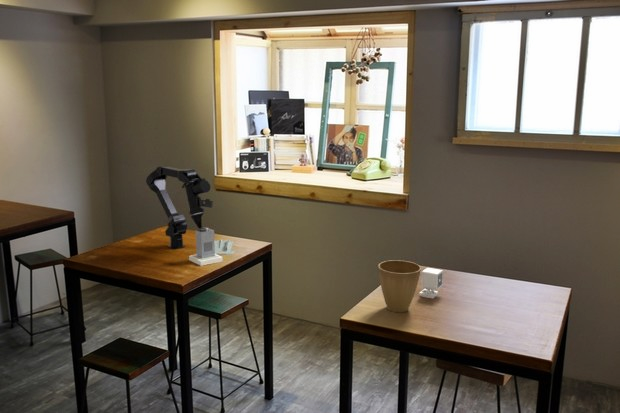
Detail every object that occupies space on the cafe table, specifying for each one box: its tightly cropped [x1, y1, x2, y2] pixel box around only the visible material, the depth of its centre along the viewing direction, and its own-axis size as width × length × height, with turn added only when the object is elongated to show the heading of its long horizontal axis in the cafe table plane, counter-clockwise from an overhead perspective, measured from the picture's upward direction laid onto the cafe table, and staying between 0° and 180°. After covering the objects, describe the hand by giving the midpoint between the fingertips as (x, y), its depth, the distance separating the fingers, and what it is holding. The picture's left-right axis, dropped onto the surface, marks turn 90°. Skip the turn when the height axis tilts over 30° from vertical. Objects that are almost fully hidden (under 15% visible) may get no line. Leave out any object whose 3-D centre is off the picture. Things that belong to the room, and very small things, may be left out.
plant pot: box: [377, 259, 422, 313], centre depth 218 cm, size 15×15×16 cm
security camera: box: [418, 267, 444, 299], centre depth 232 cm, size 6×7×10 cm
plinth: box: [188, 253, 224, 267], centre depth 277 cm, size 11×11×2 cm
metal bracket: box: [214, 238, 236, 256], centre depth 293 cm, size 14×6×15 cm
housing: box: [195, 226, 215, 259], centre depth 275 cm, size 5×6×13 cm
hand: (200, 228), depth 286 cm, fingers open, 9 cm apart
